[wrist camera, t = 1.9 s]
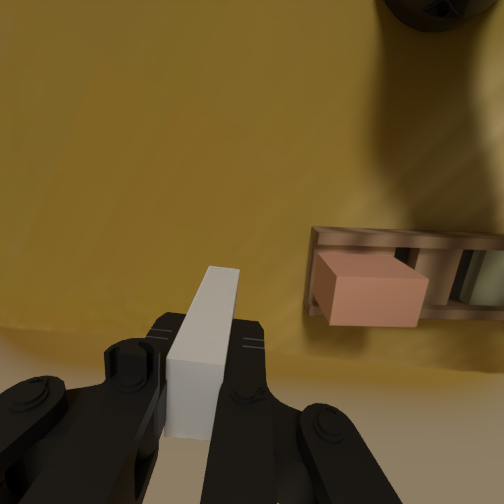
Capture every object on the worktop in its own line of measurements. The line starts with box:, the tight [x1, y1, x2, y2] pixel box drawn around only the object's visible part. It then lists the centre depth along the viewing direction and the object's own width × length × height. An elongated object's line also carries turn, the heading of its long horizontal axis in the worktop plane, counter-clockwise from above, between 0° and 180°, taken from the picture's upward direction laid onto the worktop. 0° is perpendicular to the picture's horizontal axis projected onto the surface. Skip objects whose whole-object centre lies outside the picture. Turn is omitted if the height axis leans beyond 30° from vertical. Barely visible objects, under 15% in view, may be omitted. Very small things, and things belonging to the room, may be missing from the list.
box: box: [303, 226, 504, 321], centre depth 37 cm, size 36×12×6 cm, turn 88°
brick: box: [313, 253, 429, 327], centre depth 33 cm, size 10×6×8 cm, turn 88°
